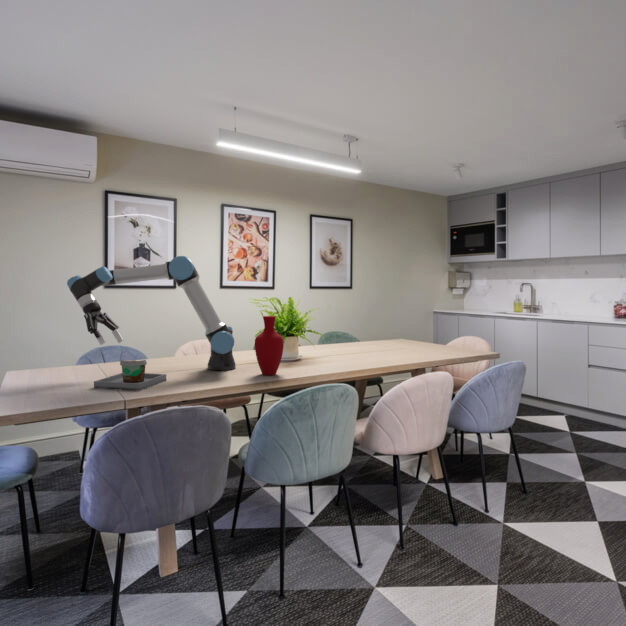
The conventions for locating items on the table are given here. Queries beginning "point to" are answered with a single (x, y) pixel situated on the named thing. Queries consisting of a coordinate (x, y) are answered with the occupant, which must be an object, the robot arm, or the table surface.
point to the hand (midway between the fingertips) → (112, 342)
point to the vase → (269, 347)
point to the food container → (133, 371)
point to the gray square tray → (118, 383)
